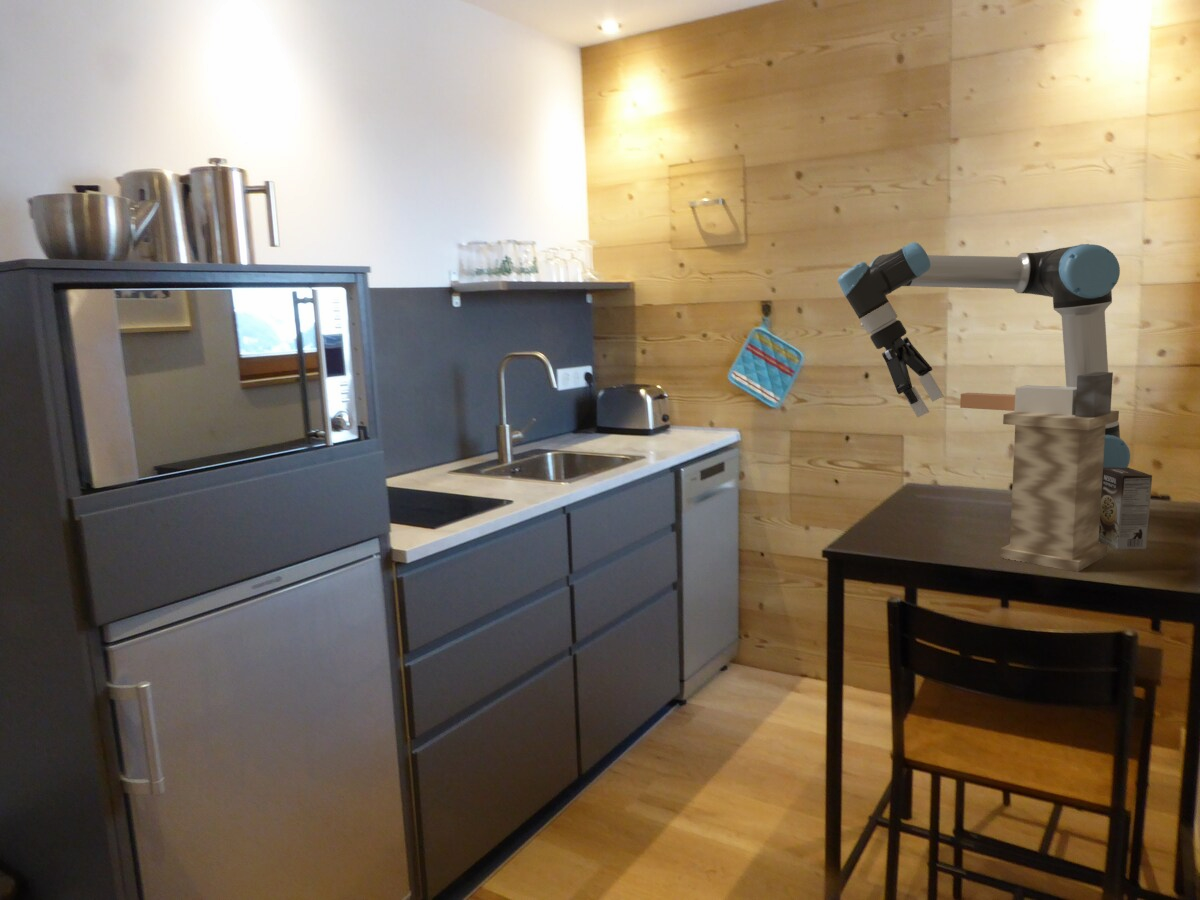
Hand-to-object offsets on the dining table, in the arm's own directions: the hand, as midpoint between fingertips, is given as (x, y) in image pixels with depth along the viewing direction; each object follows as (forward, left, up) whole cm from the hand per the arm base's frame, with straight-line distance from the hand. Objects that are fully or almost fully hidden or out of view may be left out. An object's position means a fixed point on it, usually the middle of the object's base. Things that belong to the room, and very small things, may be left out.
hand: (931, 406), depth 200 cm
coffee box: (-36, +15, -29) cm, 49 cm away
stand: (-18, +23, -29) cm, 41 cm away
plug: (-13, +17, +1) cm, 21 cm away
